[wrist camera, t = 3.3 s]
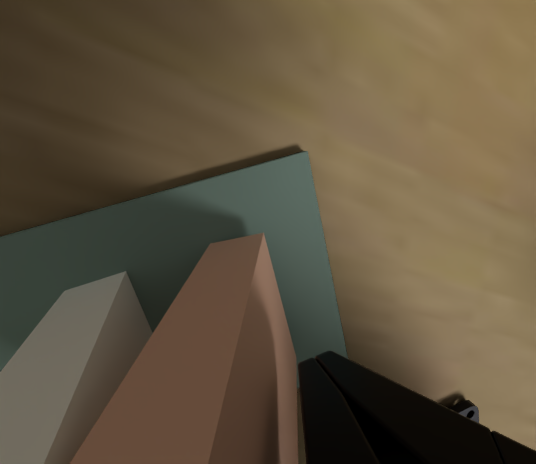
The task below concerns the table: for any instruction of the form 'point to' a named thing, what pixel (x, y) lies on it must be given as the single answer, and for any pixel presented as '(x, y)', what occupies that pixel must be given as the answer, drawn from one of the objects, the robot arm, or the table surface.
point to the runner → (180, 251)
